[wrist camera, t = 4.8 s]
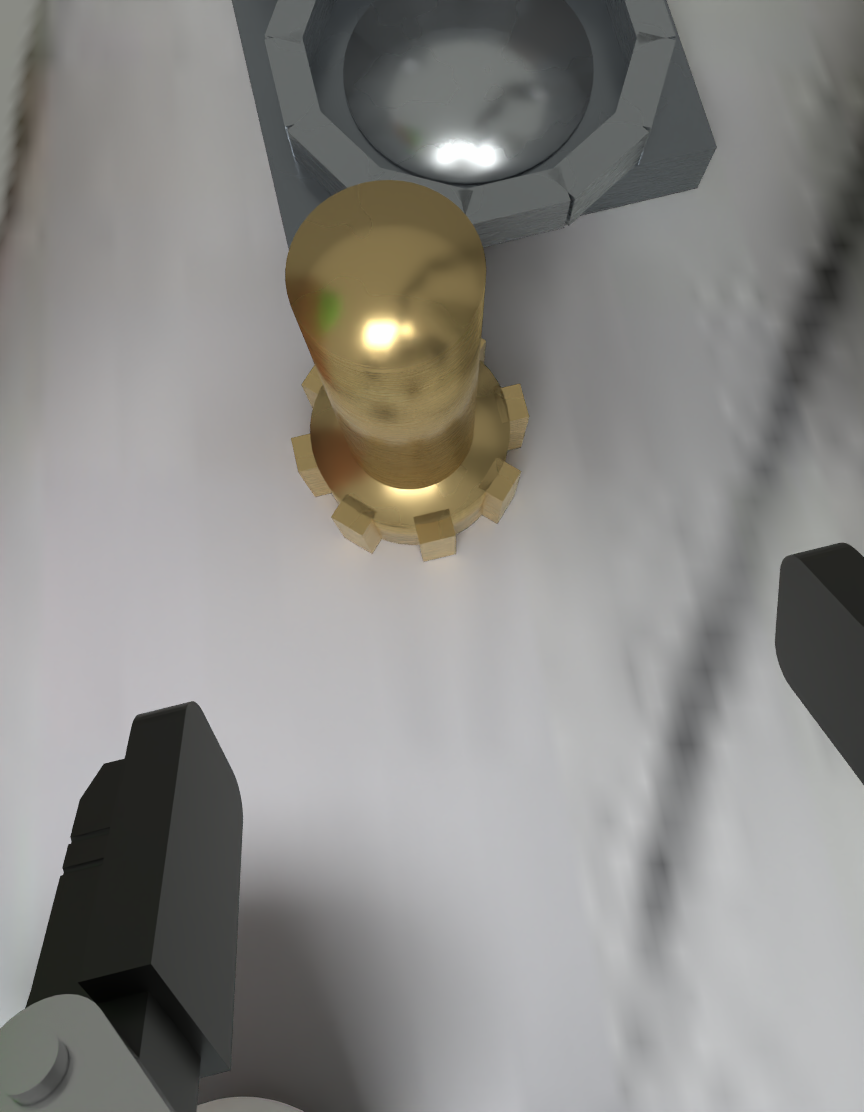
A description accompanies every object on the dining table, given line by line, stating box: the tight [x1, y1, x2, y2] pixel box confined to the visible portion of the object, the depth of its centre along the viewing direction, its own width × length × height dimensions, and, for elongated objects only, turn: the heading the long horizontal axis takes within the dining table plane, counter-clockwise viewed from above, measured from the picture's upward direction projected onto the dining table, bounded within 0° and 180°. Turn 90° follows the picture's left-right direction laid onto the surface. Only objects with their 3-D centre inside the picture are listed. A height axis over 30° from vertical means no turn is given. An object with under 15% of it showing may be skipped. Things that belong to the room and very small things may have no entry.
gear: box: [285, 180, 529, 562], centre depth 18 cm, size 6×6×10 cm
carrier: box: [232, 0, 716, 249], centre depth 22 cm, size 12×13×6 cm
